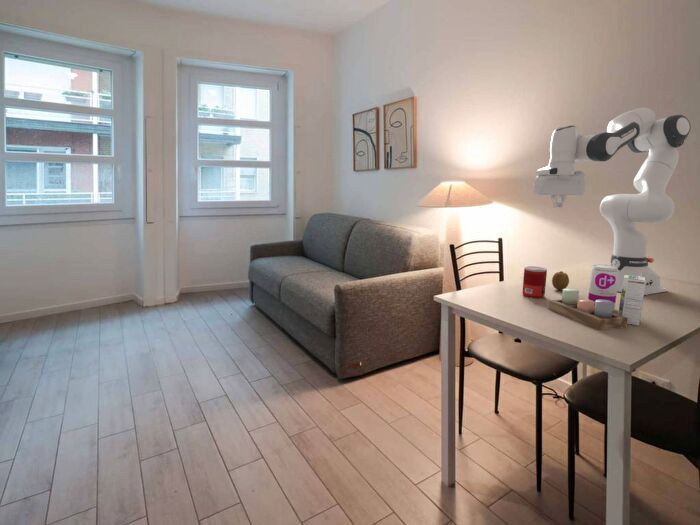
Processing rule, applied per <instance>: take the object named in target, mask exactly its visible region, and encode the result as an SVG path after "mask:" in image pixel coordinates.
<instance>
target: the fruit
mask: <svg viewBox="0 0 700 525" xmlns="http://www.w3.org/2000/svg"><path fill="white" fill-rule="evenodd" d="M551 284H552V286H553V288H554V289H556V290H557V291H563V289H567V287H568V286H569V284H570V278H569V275H568V273H566V272H563V271H561V270H560V271H558V272H555V273H554V274H553V275H552V279H551Z"/></svg>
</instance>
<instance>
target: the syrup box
mask: <svg viewBox="0 0 700 525" xmlns="http://www.w3.org/2000/svg"><path fill="white" fill-rule="evenodd" d="M645 284H646V278H645V277H640V276H633V275H625V276H624V280H623V286H622V291H621V292H620V298H619V307H618V313H617V314H618V315H621V316H624V317H627V318H628V320H627V325H631V324H632V325H633V326H640V321H641V316H642V315H641V314H642V311H643V302H644V296H645V295H644V291H645ZM632 325H631V326H632Z"/></svg>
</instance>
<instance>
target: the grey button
mask: <svg viewBox="0 0 700 525" xmlns="http://www.w3.org/2000/svg"><path fill="white" fill-rule="evenodd" d="M613 306H614V302H612V301H609V300H602V299H598V300H595V309H594V316H597V317H600V318H602V319H605V318H612V314H613V313H614V309H613Z"/></svg>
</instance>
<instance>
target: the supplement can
mask: <svg viewBox="0 0 700 525" xmlns="http://www.w3.org/2000/svg"><path fill="white" fill-rule="evenodd" d="M618 279H619V270H618V267H616V266H611V265H610V264H594V265H593V267H592V268H591V269H590V277H589V284H588V285H589V287H588V296H587V299H588V300H592V301H594V302H595V300H598V299H602V300H609V301H612V302H614V306H613V310H615V309H616V300H617V294H618V293H617V292H618V291H617V287H618ZM594 306H595V305H594Z"/></svg>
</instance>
